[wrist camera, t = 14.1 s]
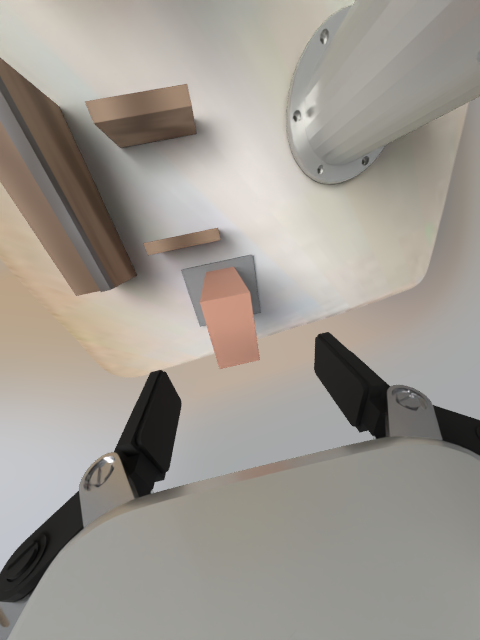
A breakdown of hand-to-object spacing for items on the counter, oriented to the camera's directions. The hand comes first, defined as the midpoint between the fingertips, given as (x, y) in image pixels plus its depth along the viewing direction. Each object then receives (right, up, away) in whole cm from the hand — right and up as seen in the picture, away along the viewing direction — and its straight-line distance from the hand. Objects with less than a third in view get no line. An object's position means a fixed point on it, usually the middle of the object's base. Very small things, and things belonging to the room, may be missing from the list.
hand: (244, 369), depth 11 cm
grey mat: (-3, +7, +16) cm, 17 cm away
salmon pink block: (-3, +7, +15) cm, 17 cm away
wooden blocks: (-12, +17, +9) cm, 23 cm away
